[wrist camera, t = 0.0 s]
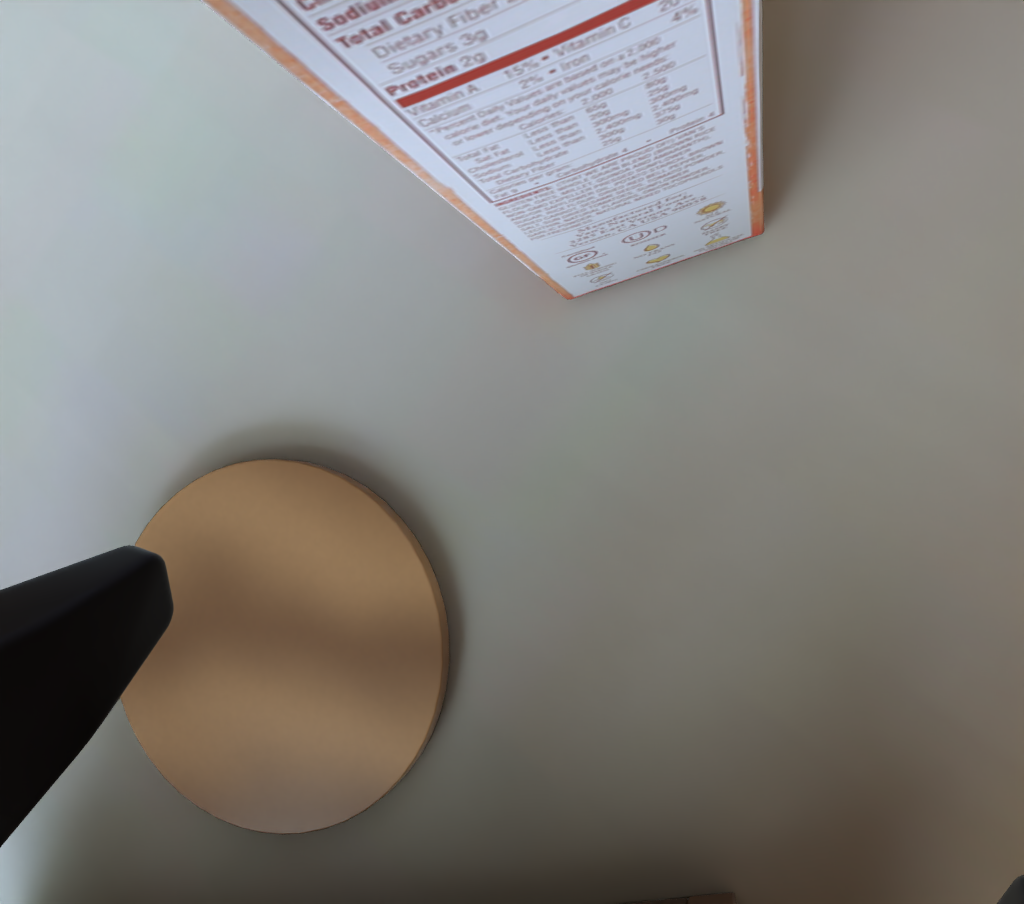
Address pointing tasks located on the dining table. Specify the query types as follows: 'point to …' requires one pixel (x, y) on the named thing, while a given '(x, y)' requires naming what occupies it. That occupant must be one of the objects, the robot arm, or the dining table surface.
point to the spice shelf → (696, 900)
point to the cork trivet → (289, 647)
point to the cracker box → (550, 116)
